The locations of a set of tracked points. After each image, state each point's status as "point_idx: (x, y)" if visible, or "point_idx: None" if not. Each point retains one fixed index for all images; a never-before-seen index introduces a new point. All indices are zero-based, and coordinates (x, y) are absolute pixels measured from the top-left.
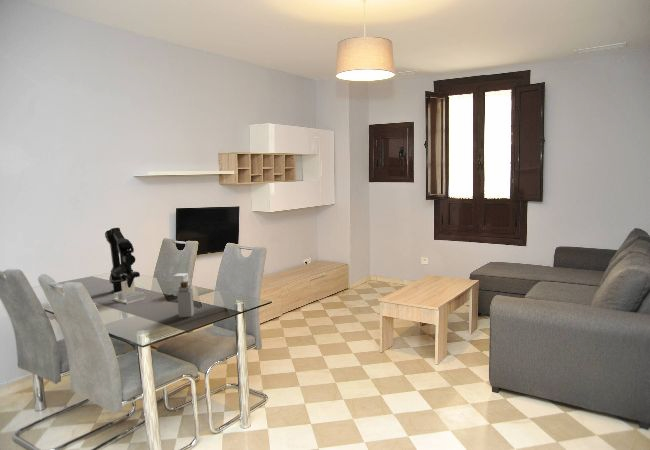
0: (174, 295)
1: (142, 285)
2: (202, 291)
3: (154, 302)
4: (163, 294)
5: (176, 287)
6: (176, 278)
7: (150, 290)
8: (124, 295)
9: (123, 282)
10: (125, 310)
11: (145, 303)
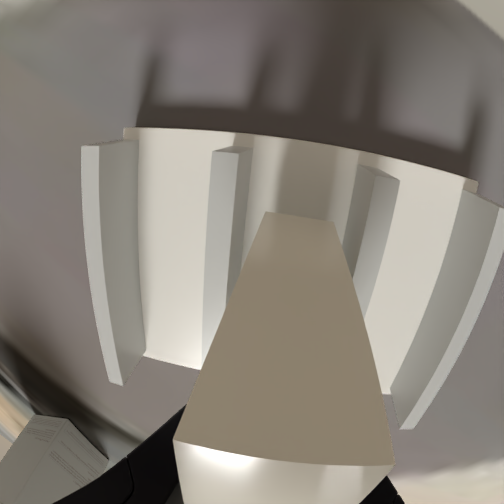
0: (63, 419)
1: (450, 486)
2: None
3: (9, 285)
4: (143, 440)
5: (30, 452)
6: (2, 490)
7: None
8: (210, 188)
9: (176, 442)
10: (8, 30)
11: (22, 238)
